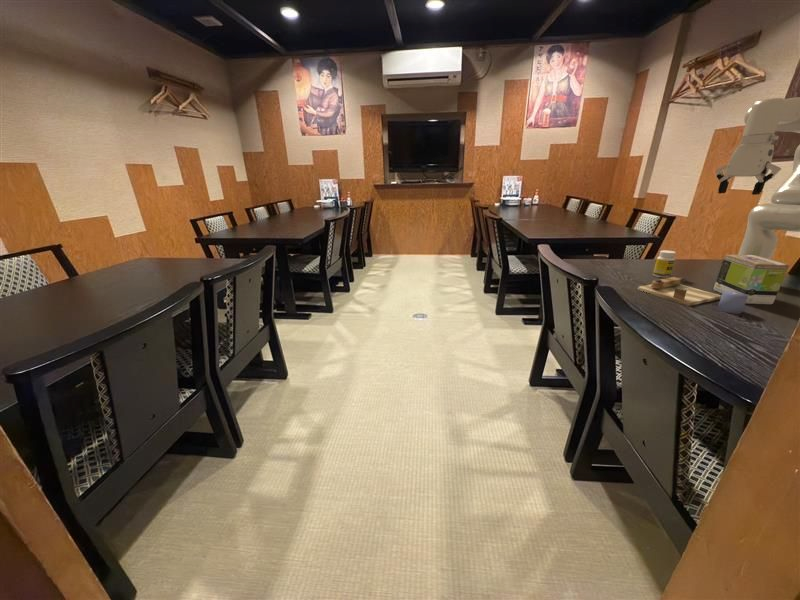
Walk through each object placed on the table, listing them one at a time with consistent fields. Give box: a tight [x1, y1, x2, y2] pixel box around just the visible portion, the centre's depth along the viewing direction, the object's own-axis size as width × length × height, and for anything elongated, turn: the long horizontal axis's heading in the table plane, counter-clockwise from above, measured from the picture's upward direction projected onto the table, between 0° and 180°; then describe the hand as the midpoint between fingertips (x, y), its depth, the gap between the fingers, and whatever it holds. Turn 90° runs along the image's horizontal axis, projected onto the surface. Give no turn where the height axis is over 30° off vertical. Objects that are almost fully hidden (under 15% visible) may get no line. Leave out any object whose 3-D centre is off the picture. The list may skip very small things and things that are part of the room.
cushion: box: [717, 291, 748, 315], centre depth 109 cm, size 6×6×6 cm
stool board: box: [636, 283, 722, 307], centre depth 124 cm, size 18×19×5 cm
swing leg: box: [650, 276, 686, 289], centre depth 129 cm, size 15×4×3 cm, turn 108°
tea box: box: [713, 254, 790, 305], centre depth 118 cm, size 15×10×15 cm
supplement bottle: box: [652, 249, 677, 279], centre depth 144 cm, size 6×6×11 cm
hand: (738, 193), depth 115 cm, fingers open, 9 cm apart
